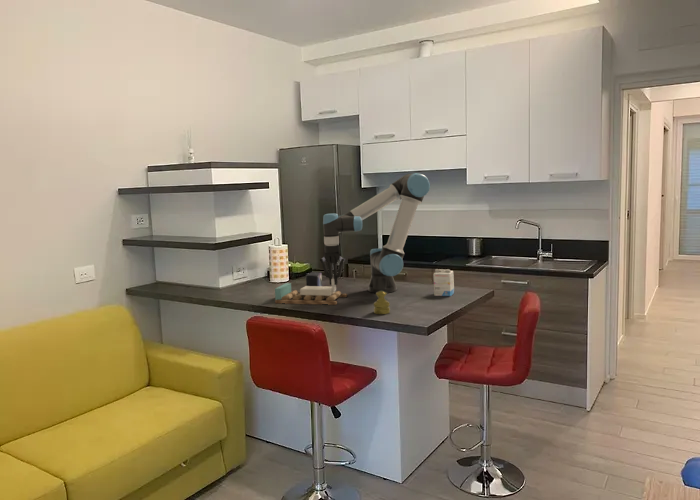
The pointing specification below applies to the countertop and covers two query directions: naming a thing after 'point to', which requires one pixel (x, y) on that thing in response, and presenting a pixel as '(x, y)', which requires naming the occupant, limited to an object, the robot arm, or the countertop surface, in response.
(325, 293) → the slab
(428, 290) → the countertop surface
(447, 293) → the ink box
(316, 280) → the small box
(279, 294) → the block
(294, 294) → the roller bed
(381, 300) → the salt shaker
